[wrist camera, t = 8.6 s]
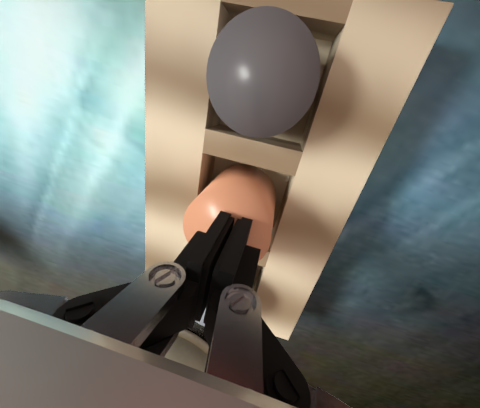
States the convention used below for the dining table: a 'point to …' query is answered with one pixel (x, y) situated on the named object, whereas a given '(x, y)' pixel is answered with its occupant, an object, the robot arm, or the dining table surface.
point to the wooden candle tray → (287, 143)
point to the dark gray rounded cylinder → (263, 71)
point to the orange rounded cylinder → (236, 204)
